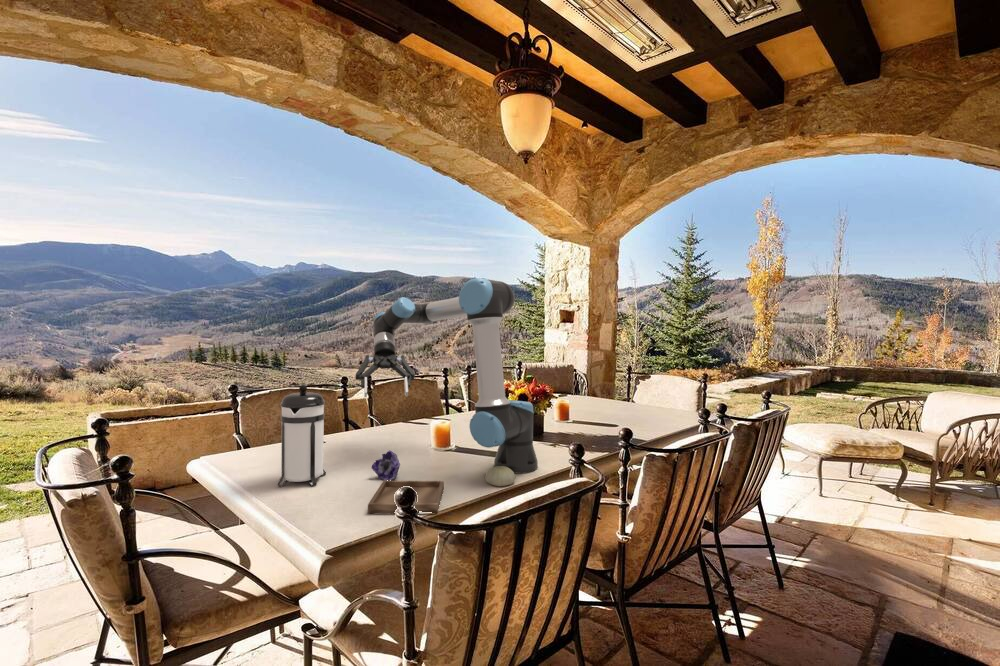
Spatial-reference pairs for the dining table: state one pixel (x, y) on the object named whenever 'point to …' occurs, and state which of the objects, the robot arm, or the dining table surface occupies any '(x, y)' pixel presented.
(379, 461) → the amethyst cluster
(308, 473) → the coffee press
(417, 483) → the walnut tray
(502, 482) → the sea urchin shell
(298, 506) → the dining table surface
